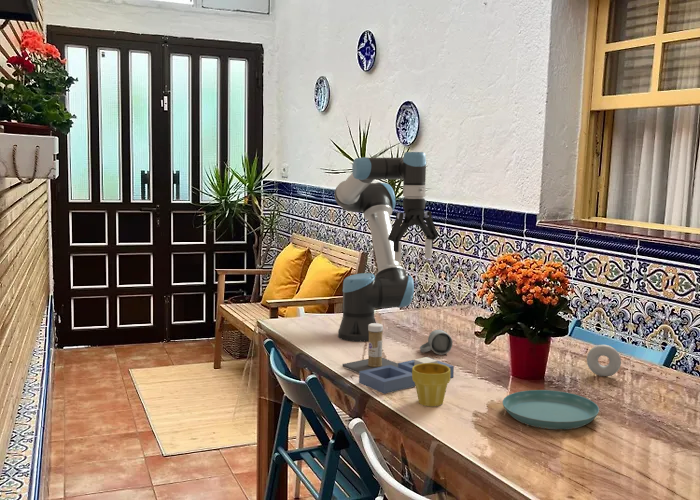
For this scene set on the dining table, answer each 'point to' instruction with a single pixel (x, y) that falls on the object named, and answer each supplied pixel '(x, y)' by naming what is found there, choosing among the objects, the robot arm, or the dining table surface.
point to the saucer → (550, 409)
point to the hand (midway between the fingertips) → (413, 259)
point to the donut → (608, 352)
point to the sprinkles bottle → (375, 345)
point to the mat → (366, 365)
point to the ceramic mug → (438, 343)
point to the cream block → (424, 360)
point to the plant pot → (431, 382)
